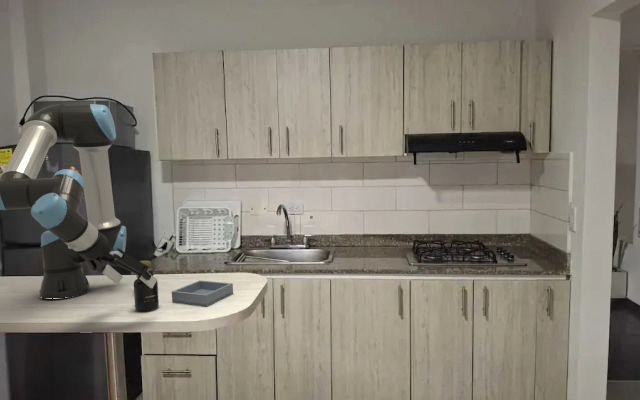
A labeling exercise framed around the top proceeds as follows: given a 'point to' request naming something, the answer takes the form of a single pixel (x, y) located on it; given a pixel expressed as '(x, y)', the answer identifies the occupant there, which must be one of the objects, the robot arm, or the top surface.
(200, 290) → the tray
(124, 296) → the top surface
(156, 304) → the supplement bottle
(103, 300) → the top surface
